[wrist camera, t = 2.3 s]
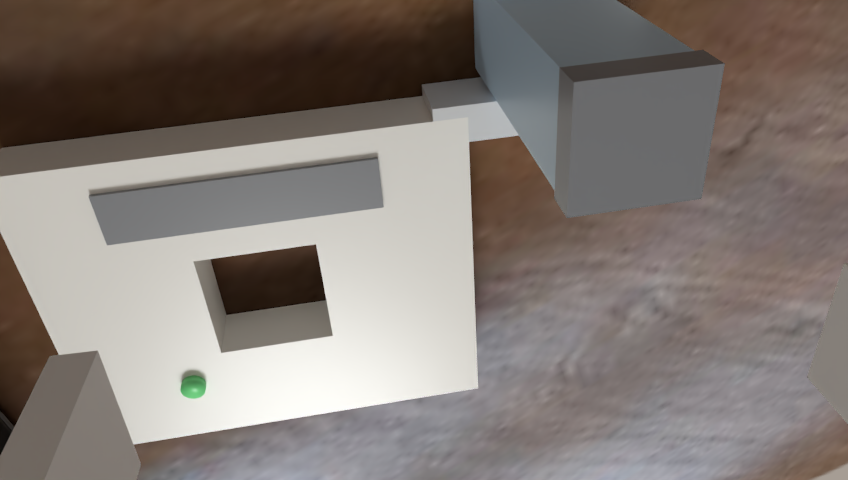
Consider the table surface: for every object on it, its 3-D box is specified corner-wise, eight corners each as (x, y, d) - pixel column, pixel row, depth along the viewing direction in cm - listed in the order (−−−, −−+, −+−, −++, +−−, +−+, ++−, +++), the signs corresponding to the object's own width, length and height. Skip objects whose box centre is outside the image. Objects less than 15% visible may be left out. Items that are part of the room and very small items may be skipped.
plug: (470, -26, 29) (573, 82, 18) (566, -37, 30) (724, 63, 19) (473, 70, 32) (566, 218, 21) (562, 59, 32) (701, 198, 21)
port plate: (1, 147, 30) (-29, 184, 27) (454, 92, 32) (470, 120, 29) (116, 407, 39) (102, 455, 36) (466, 351, 41) (479, 393, 38)
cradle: (410, -73, 28) (421, -60, 26) (625, -95, 29) (656, -84, 26) (424, 119, 33) (434, 146, 30) (609, 95, 33) (635, 120, 31)
